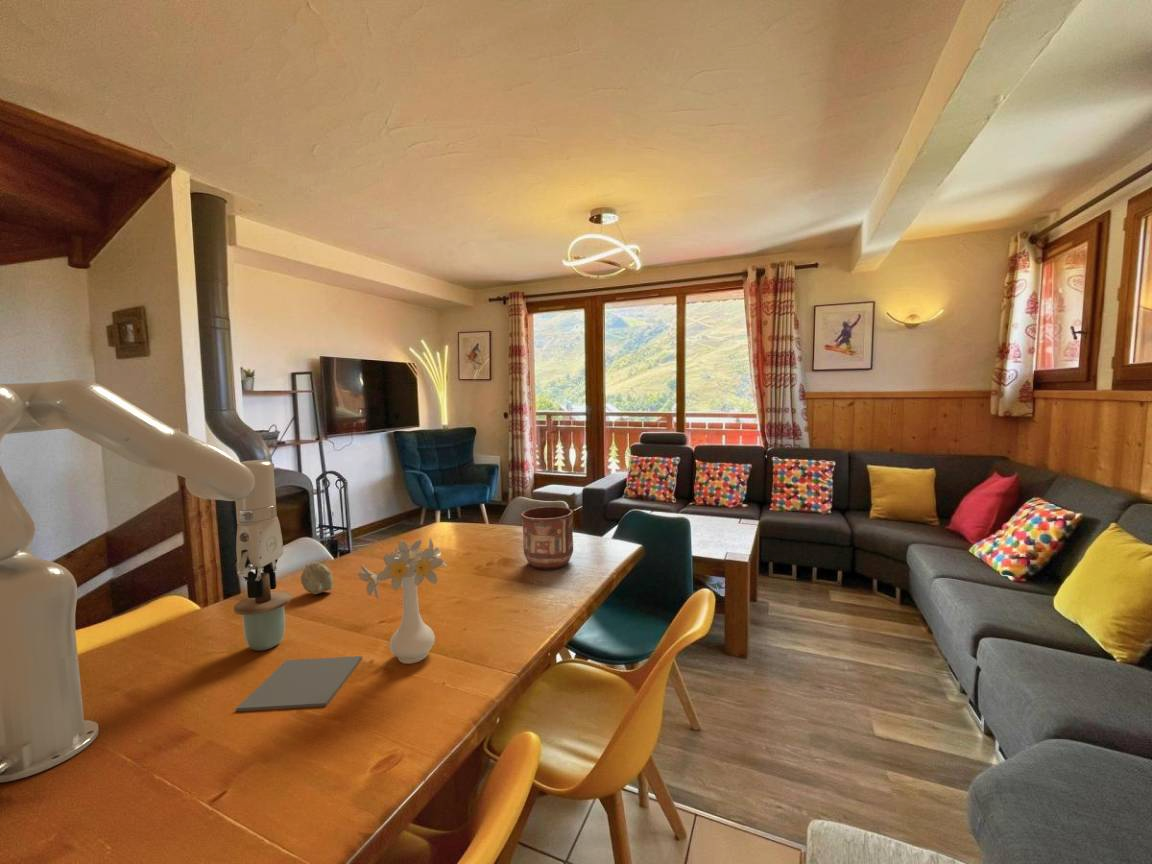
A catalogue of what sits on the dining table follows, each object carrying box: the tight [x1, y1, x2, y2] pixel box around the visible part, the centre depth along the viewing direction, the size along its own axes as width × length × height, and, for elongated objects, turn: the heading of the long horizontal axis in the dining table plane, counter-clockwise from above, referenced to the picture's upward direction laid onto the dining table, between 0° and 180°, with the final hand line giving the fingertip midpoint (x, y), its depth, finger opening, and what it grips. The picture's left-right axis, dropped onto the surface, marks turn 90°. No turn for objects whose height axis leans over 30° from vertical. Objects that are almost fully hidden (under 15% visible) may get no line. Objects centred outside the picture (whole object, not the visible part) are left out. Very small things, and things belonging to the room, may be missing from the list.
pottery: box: [520, 505, 574, 571], centre depth 158 cm, size 18×18×18 cm
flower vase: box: [357, 537, 448, 665], centre depth 100 cm, size 13×18×25 cm
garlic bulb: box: [300, 561, 335, 595], centre depth 138 cm, size 9×8×10 cm
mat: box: [235, 655, 363, 712], centre depth 93 cm, size 16×16×1 cm
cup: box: [242, 605, 286, 652], centre depth 108 cm, size 8×8×10 cm
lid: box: [233, 573, 292, 616], centre depth 107 cm, size 11×11×7 cm
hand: (262, 592), depth 107 cm, fingers open, 4 cm apart
